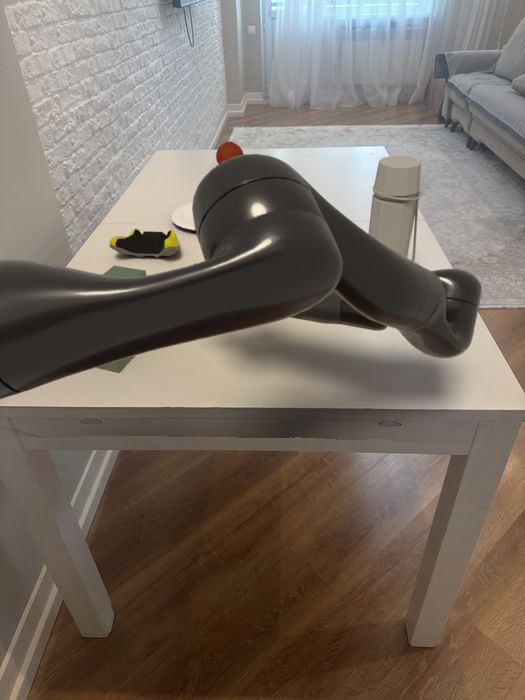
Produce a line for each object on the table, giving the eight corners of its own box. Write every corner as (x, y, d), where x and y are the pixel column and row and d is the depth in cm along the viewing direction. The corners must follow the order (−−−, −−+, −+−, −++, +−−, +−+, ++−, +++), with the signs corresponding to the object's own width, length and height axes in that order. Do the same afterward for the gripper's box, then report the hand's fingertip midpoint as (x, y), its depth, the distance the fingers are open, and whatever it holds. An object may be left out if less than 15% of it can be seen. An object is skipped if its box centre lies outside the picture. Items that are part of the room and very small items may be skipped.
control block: (157, 331, 86) (145, 270, 79) (119, 373, 77) (101, 308, 70) (128, 325, 88) (113, 265, 81) (87, 365, 79) (67, 302, 72)
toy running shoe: (177, 266, 106) (188, 245, 113) (173, 242, 102) (185, 223, 110) (110, 263, 107) (126, 244, 115) (105, 240, 104) (121, 221, 112)
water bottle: (370, 310, 89) (387, 171, 74) (354, 289, 95) (368, 156, 80) (417, 303, 91) (443, 165, 76) (399, 283, 97) (420, 151, 82)
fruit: (212, 166, 161) (210, 140, 156) (238, 162, 164) (236, 136, 159) (222, 173, 155) (220, 147, 150) (248, 169, 157) (246, 143, 153)
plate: (215, 243, 114) (215, 236, 113) (154, 223, 124) (153, 217, 123) (269, 214, 127) (269, 208, 126) (209, 198, 137) (209, 192, 136)
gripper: (326, 243, 66) (209, 228, 71) (297, 291, 56) (164, 269, 61) (323, 292, 70) (213, 274, 75) (296, 344, 61) (172, 319, 65)
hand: (191, 272), depth 68 cm, fingers closed
